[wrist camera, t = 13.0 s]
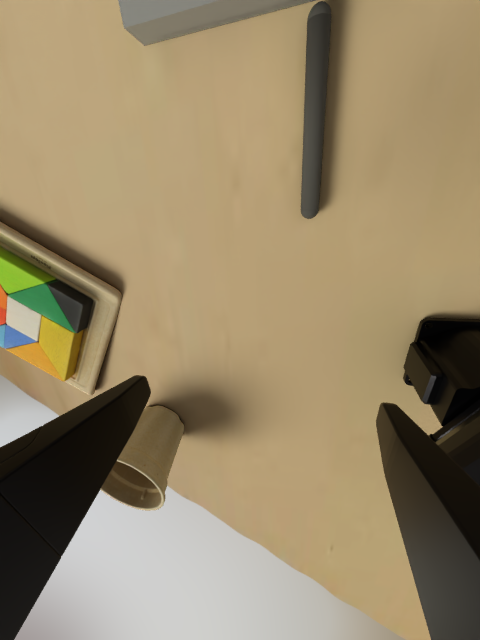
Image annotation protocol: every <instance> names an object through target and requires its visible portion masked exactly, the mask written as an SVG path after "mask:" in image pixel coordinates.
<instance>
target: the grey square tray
mask: <svg viewBox="0 0 480 640" xmlns="http://www.w3.org/2000/svg"><path fill="white" fill-rule="evenodd" d="M118 1H119V6H120V11H121V16H122V20H123V25H124V28H125V29H126V30H127V31H128V32H129V33H130V34H132V35H133V36H134V37H135V38H136V39H137V40H138V41H140V42H141V43H142V44H143V45H144V46H145V45H149V44H153V43H156V42H160V41H164V40H168V39H172V38H175V37H179V36H183V35H187V34H190V33H194V32H198V31H202V30H206V29H209V28H213V27H217V26H221V25H224V24H228V23H232V22H236V21H240V20H243V19H247V18H251V17H255V16H258V15H262V14H266V13H270V12H274V11H277V10H281V9H285V8H289V7H292V6H296V5H300V4H304V3H308V2H311V1H315V0H118Z"/></svg>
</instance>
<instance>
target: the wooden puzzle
mask: <svg viewBox="0 0 480 640" xmlns="http://www.w3.org/2000/svg"><path fill="white" fill-rule="evenodd" d="M121 299H122V295H121V293H120V292H119V291H118V290H117V289H116V288H114V287H112V286H111V285H109V284H107V283H106V282H104V281H102V280H100V279H98V278H97V277H95V276H93V275H91V274H90V273H88V272H86V271H85V270H83V269H81V268H79V267H78V266H76V265H74V264H72V263H71V262H69V261H67V260H66V259H64V258H62V257H60V256H59V255H57V254H55V253H53V252H52V251H50V250H48V249H47V248H45V247H43V246H41V245H40V244H38V243H36V242H34V241H33V240H31V239H29V238H28V237H26V236H24V235H22V234H21V233H19V232H17V231H16V230H14V229H12V228H10V227H9V226H7V225H5V224H3V223H2V222H0V347H3V348H6V350H7V351H9V352H11V353H13V354H15V355H16V356H18V357H20V358H22V359H24V360H25V361H27V362H29V363H31V364H33V365H34V366H36V367H38V368H40V369H42V370H43V371H45V372H47V373H49V374H50V375H52V376H54V377H56V378H58V379H59V380H61V381H65V382H66V383H68V384H70V385H72V386H74V387H75V388H77V389H79V390H81V391H82V392H84V393H86V394H88V395H93V394H94V393H95V390H94V389H95V386H96V382H97V379H98V376H99V373H100V369H101V366H102V363H103V360H104V357H105V354H106V350H107V347H108V344H109V341H110V338H111V335H112V331H113V328H114V325H115V322H116V319H117V315H118V312H119V308H120V304H121Z"/></svg>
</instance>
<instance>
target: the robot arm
mask: <svg viewBox="0 0 480 640" xmlns="http://www.w3.org/2000/svg"><path fill="white" fill-rule="evenodd" d="M428 323H431V324H430V325H429V326H425V325H426V324H428ZM404 369H405V373H404V377H403V380H404V382H405V383H406V384H407V385H411V386H414V388H415V390H416V392H417V394H418V395H419V397H420V399H421V401H422V402H423V403H424V404H430V406H431V407H432V409H433V411H434V413H435V415H436V416H437V418H438V420H439V422H440V423H441V425H442V426H443V427H442V428H441V429H440V430H438V431H437V432H436V433H434V434H430V435H429V436H428V435H427V434H426V433H425V432H424V431H423V430H422V429H421V428H420V427H419V426H418V425H417V424H416V423H415V422H414V421H413V420H412V419H410V418H409V417H408V416H407V415H406V414H405V413H404V412H403V411H402V410H401V409H400V408H399V407H398V406H397V405H396V404H392V403H381V404H380V407H379V411H378V415H377V419H376V427H377V433H378V439H379V445H380V451H381V457H382V463H383V468H384V474H385V477H386V481H387V485H388V488H389V492H390V496H391V499H392V503H393V506H394V510H395V513H396V517H397V520H398V524H399V527H400V531H401V534H402V538H403V541H404V545H405V549H406V552H407V556H408V559H409V563H410V566H411V570H412V573H413V577H414V580H415V584H416V587H417V591H418V595H419V598H420V602H421V605H422V609H423V612H424V616H425V619H426V623H427V626H428V630H429V633H430V637H431V640H480V319H450V318H425V319H423V320H421V321H420V323H419V327H418V330H417V333H416V337H415V340H414V342H412V343H411V344H410V347H409V351H408V354H407V357H406V361H405V364H404ZM409 379H410V380H409ZM150 394H151V390H150V387H149V384H148V381H147V378H146V377H145V376H140V375H136V376H133V377H132V378H130V379H128V380H126V381H124V382H122V383H120V384H119V385H117V386H115V387H113V388H111V389H109V390H107V391H106V392H104V393H102V394H100V395H98V396H96V397H94V398H93V399H91V400H89V401H87V402H85V403H83V404H81V405H80V406H78V407H76V408H74V409H72V410H70V411H68V412H67V413H65V414H63V415H61V416H59V417H57V418H56V419H54V420H52V421H50V422H48V423H46V424H44V425H43V426H41V427H39V428H37V429H35V430H33V431H31V432H30V433H28V434H26V435H24V436H22V437H20V438H18V439H16V440H14V441H12V442H10V443H8V444H6V445H4V446H2V447H0V640H14V639H15V637H16V635H17V634H18V632H19V630H20V628H21V627H22V625H23V623H24V621H25V620H26V618H27V616H28V614H29V613H30V611H31V609H32V607H33V606H34V604H35V602H36V601H37V599H38V597H39V595H40V593H41V592H42V590H43V588H44V586H45V585H46V583H47V581H48V580H49V578H50V576H51V574H52V573H53V571H54V569H55V567H56V566H57V564H58V562H59V561H60V559H61V556H62V555H63V553H64V552H65V550H66V548H67V546H68V544H69V543H70V541H71V539H72V538H73V536H74V534H75V532H76V531H77V529H78V527H79V525H80V524H81V522H82V520H83V518H84V517H85V515H86V513H87V512H88V510H89V508H90V506H91V505H92V503H93V501H94V499H95V498H96V496H97V494H98V492H99V491H100V489H101V487H102V486H103V484H104V482H105V480H106V479H107V477H108V475H109V473H110V472H111V470H112V468H113V466H114V465H115V463H116V461H117V459H118V458H119V456H120V454H121V452H122V451H123V449H124V447H125V446H126V444H127V442H128V440H129V439H130V437H131V435H132V433H133V431H134V430H135V428H136V426H137V423H138V421H139V419H140V417H141V415H142V412H143V410H144V408H145V406H146V404H147V402H148V399H149V397H150Z"/></svg>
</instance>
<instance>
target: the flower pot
mask: <svg viewBox="0 0 480 640" xmlns="http://www.w3.org/2000/svg"><path fill="white" fill-rule="evenodd" d="M183 433H184V424H183V423H181V421H180V419H179V416H178V415H177V414H176V413H174V412H173V411H171V410H170V409H168V408H165V407H163V406H159V405H157V406H153V407H147V408H145V409H144V410H143V412H142V415H141V417H140V419H139V421H138V423H137V426H136V428H135V430H134V431H133V433H132V435H131V437H130V439H129V440H128V442H127V444H126V446H125V447H124V449H123V451H122V452H121V454H120V456H119V458H118V459H117V461H116V463H115V465H114V466H113V468H112V470H111V472H110V473H109V475H108V477H107V479H106V480H105V482H104V484H103V486H102V487H101V489H100V490H101V491H103V492H104V493H105V494H107V495H109V496H110V497H111V498H113V499H115V500H116V501H119V502H120V503H122V504H125V505H127V506H130V507H133V508H136V509H140V510H147V511H150V510H157V509H159V508H161V507H162V506H163V504H164V501H165V490H166V487H167V478H168V475H169V472H170V469H171V466H172V463H173V461H174V458H175V455H176V452H177V449H178V446H179V443H180V440H181V438H182V435H183Z"/></svg>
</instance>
